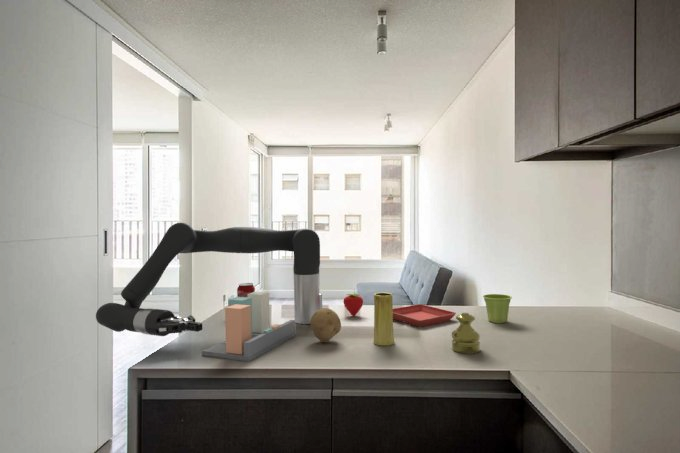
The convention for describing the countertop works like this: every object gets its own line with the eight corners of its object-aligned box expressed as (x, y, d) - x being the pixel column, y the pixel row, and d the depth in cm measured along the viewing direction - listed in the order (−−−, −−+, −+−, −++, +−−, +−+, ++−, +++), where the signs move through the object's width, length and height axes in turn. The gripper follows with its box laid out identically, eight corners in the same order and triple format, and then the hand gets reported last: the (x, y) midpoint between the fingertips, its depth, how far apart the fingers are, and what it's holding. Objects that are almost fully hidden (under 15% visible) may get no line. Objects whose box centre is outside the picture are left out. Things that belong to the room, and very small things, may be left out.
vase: (396, 340, 119) (395, 292, 119) (392, 346, 114) (391, 296, 113) (376, 339, 121) (375, 291, 121) (371, 345, 116) (370, 295, 115)
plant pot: (482, 323, 137) (482, 298, 137) (483, 317, 146) (483, 293, 145) (512, 325, 133) (512, 299, 133) (511, 319, 142) (511, 294, 142)
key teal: (228, 340, 119) (227, 299, 119) (238, 336, 123) (237, 296, 123) (243, 341, 117) (242, 300, 117) (252, 337, 121) (251, 297, 121)
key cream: (248, 331, 127) (247, 293, 127) (256, 328, 132) (255, 291, 131) (261, 333, 125) (261, 294, 125) (269, 329, 130) (268, 292, 129)
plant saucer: (457, 321, 142) (457, 312, 142) (420, 329, 132) (420, 319, 132) (420, 312, 157) (420, 303, 157) (384, 319, 147) (384, 310, 147)
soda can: (251, 316, 153) (250, 285, 153) (234, 316, 154) (233, 285, 154) (258, 312, 160) (257, 282, 160) (242, 312, 161) (241, 282, 161)
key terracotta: (225, 352, 107) (224, 307, 107) (236, 347, 112) (235, 304, 111) (241, 354, 105) (240, 308, 105) (251, 349, 110) (250, 305, 109)
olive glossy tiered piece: (476, 355, 105) (476, 317, 105) (448, 351, 109) (447, 314, 109) (483, 348, 111) (482, 311, 111) (456, 344, 115) (455, 309, 115)
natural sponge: (327, 335, 126) (326, 303, 126) (347, 341, 120) (347, 307, 120) (304, 342, 120) (304, 308, 120) (325, 348, 113) (324, 313, 113)
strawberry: (344, 313, 155) (344, 287, 155) (364, 314, 154) (363, 288, 154) (342, 317, 149) (341, 290, 149) (362, 317, 148) (362, 290, 148)
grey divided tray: (202, 355, 110) (202, 335, 109) (255, 331, 133) (254, 314, 133) (248, 361, 104) (248, 340, 104) (295, 335, 127) (295, 317, 127)
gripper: (135, 314, 113) (183, 319, 107) (171, 304, 126) (216, 309, 119) (135, 340, 113) (183, 347, 107) (171, 328, 126) (216, 334, 119)
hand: (200, 327), depth 113 cm, fingers closed
